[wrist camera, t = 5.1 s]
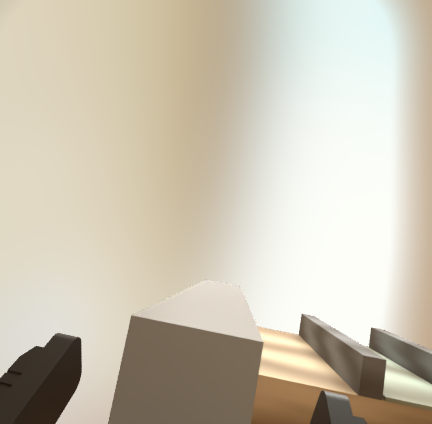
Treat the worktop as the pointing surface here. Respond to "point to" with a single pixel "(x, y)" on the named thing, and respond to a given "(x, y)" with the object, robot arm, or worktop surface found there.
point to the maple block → (342, 375)
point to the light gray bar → (190, 360)
